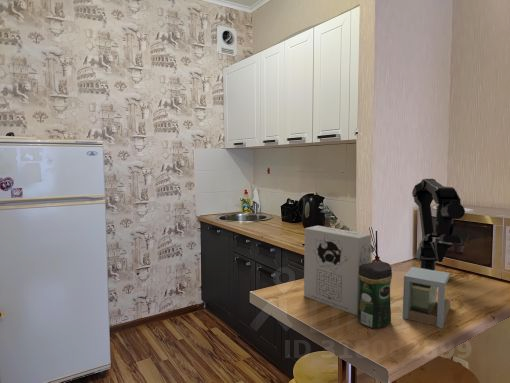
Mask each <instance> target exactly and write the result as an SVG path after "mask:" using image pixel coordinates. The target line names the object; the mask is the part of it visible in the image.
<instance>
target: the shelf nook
mask: <svg viewBox="0 0 510 383" xmlns="http://www.w3.org/2000/svg"><path fill="white" fill-rule="evenodd" d="M449 280H450V272H446V271H439V270H435V271H434V270H428V269H422V268H420V267H416V266H411V267H410V268H409V269H408V270H407V272H406V273H405V275H403V291H402V292H403V296H402V298H403V299H402V319H404V320H413V321H417V322H420V323H425V324H429V325H433V326H436V327H438V328H441V329H443V328H444V326H445V322H446V321H447V317H448V314H449V312H450V309H451V298H447V297H446V298H445V296H446V286H447V283H448V281H449ZM413 282H414V283H419V284H424V285H430V286H435V287H437V313H436V314H437V315H436V316H435V315H433V314H430V315H428V314H424V313H420V312H416V311H411V290H412V288H411V285H412V283H413Z"/></svg>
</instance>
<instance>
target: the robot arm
mask: <svg viewBox="0 0 510 383" xmlns="http://www.w3.org/2000/svg"><path fill="white" fill-rule="evenodd" d="M411 194H412V197H413V200H414V201H413V202H414V203H415V204H416V205H417V207H418V209H419V219H420V227H421V228H420V229H421V236H422V238H421V240H420V242H419V244H418V248H417V250H416V253H415V256H416V257H415V258H416V259H417V260H418V261H419V262H420V267H419V268H422V269H428V270H434V271H436V262H438V263H442V262H443V260H444V258H445V256H446V254H447V251H448V250H449V248H452V247H454V244H457V245H462V244H463V243H464V244H467V241H468V239H469V237H470V235H469V234H467V233H466V232H464V231H462V230H460V229H458V228H456V224H455V223H454V220H460V219H462V218H463V217H464V216H465V213H466V210H465V207H464V205H462V204H461V203H462V202H461V201H462V199H461V198H460V196H459V194H458V192H457V190H456V189H455V187H452V186H444V185H442V184H440V183H439V182H438V181H437V180H436V179H434V178H424V179H423V178H422V179H421V181H419V183H416V184H415V185H414V186H413V189H412V192H411ZM433 201H434V203H435V204H436V205H437V206H436V212H435V221H433V215H432V207H431V206H432V202H433Z"/></svg>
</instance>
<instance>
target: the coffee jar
mask: <svg viewBox="0 0 510 383" xmlns="http://www.w3.org/2000/svg"><path fill="white" fill-rule="evenodd" d="M358 275H359V279H360V297H359V307H358V315H357V321H358V322H359V323H360V324H361V325H362V326H364V327H366V328H371V329H380V328H384V327H386V326H388V325H389V324H391V323H392V310H391V309H392V308H391V306H392V305H391V282H392V279H393V272H392V266H391V264H390V262H389V263H388V262H386V261H382V260H377V261H372V262H370V263H367V264H362V265H360V266H359V274H358Z"/></svg>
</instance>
